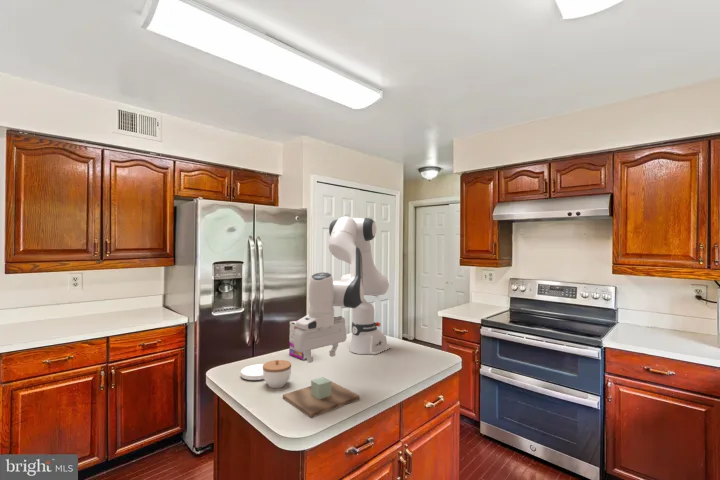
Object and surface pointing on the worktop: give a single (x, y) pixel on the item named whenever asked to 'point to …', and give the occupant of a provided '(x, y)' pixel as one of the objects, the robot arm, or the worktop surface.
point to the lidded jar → (276, 373)
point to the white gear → (253, 372)
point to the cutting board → (315, 406)
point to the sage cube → (320, 388)
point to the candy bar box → (292, 350)
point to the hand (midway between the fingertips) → (321, 358)
